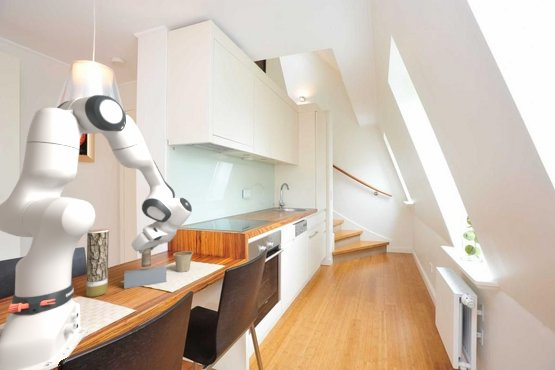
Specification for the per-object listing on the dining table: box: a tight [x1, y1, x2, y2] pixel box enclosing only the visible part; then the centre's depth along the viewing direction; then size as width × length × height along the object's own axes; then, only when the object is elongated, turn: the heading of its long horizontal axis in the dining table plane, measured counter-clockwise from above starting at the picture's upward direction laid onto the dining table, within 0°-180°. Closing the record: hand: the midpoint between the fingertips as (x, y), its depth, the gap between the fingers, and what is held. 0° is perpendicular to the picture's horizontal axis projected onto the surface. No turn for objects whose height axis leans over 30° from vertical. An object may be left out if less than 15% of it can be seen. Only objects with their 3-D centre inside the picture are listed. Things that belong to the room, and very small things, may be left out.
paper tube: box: [85, 228, 110, 298], centre depth 98 cm, size 7×7×25 cm
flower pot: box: [172, 250, 194, 273], centre depth 126 cm, size 9×9×9 cm
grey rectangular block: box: [123, 265, 167, 290], centre depth 108 cm, size 16×4×6 cm, turn 119°
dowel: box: [141, 247, 152, 268], centre depth 109 cm, size 4×4×12 cm
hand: (145, 250), depth 109 cm, fingers closed on dowel, 4 cm apart
